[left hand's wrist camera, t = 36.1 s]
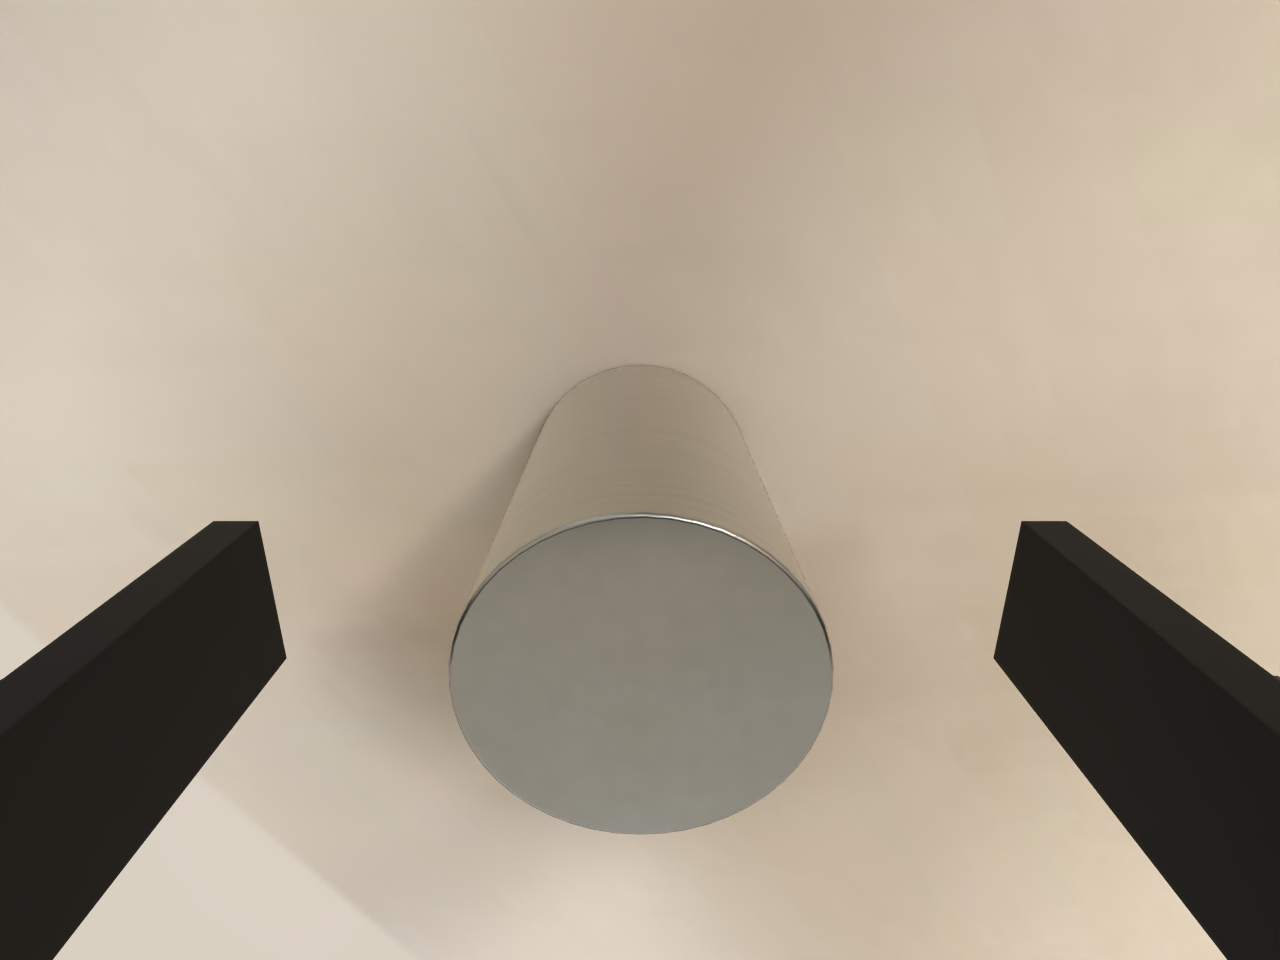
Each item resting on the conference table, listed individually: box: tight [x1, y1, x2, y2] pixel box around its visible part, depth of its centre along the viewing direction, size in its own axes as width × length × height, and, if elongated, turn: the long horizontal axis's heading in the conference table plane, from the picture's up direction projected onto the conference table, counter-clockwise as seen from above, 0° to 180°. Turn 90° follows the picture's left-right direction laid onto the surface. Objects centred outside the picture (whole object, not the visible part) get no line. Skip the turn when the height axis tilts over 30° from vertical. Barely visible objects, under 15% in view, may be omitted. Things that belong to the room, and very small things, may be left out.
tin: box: [449, 365, 833, 834], centre depth 14 cm, size 5×5×9 cm
